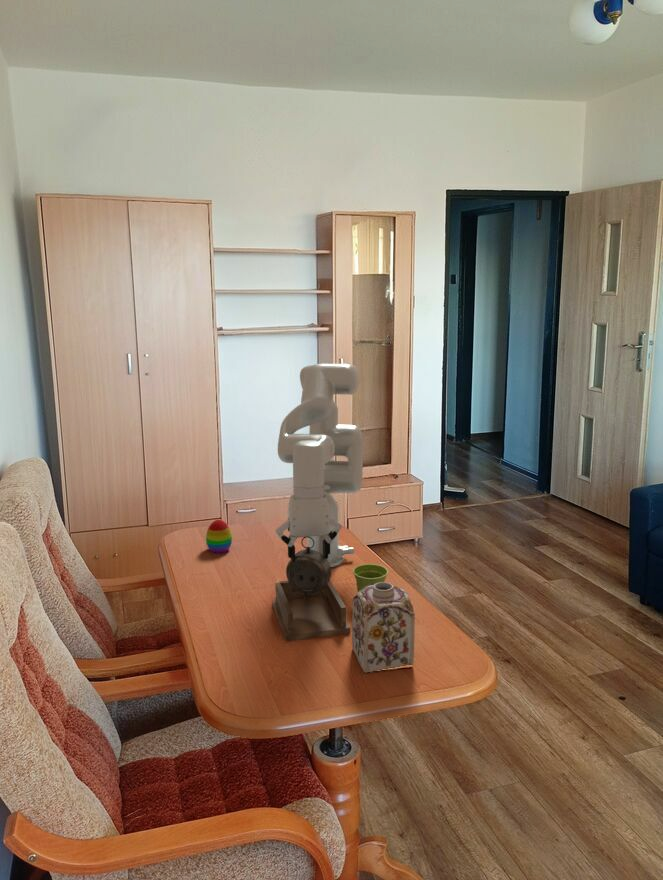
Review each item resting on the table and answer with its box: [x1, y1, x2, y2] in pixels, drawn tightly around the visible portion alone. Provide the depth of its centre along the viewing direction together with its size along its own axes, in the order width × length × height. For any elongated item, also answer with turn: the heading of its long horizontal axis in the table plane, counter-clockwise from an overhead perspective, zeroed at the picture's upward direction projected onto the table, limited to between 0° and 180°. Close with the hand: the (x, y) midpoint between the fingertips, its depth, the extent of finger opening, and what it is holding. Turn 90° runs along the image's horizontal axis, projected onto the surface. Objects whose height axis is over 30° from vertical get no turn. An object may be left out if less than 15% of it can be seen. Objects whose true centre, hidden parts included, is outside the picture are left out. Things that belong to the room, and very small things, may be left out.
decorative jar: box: [351, 581, 416, 674], centre depth 163 cm, size 12×12×18 cm
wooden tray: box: [271, 579, 351, 642], centre depth 183 cm, size 16×20×6 cm
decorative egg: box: [205, 519, 233, 554], centre depth 229 cm, size 8×8×10 cm
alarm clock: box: [285, 537, 332, 600], centre depth 180 cm, size 11×5×16 cm, turn 71°
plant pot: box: [352, 563, 389, 593], centre depth 193 cm, size 9×9×9 cm
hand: (309, 557), depth 180 cm, fingers closed on alarm clock, 7 cm apart
